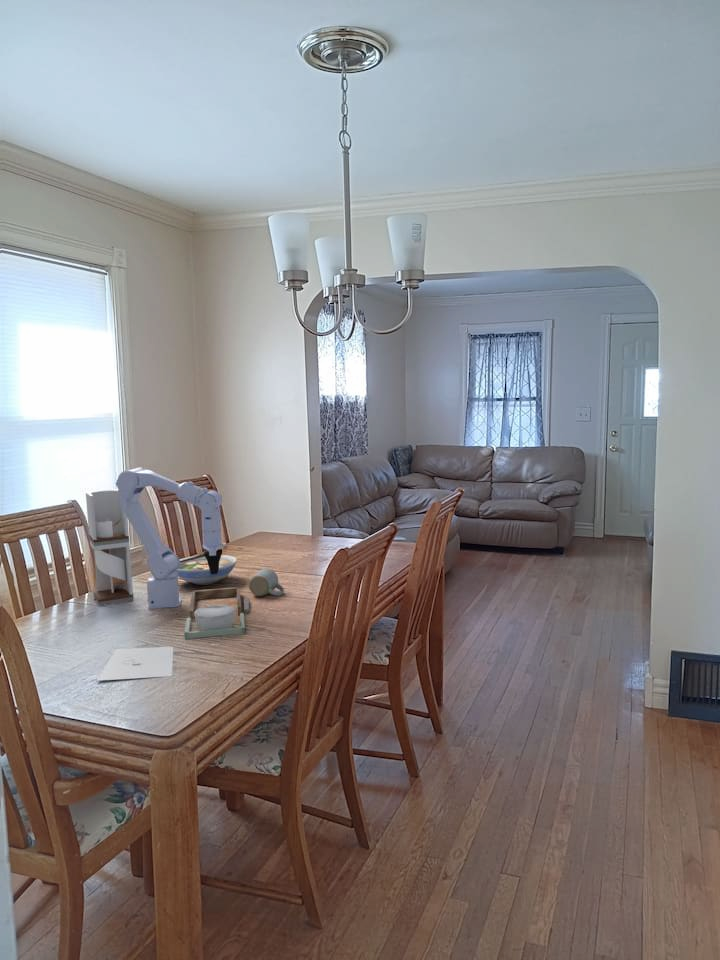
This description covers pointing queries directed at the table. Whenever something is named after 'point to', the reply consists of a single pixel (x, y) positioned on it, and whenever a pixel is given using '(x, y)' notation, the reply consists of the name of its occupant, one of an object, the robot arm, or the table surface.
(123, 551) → the white toy tower
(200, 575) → the ramen bowl
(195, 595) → the brown wooden flat frame
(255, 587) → the ceramic mug
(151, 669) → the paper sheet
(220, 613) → the ramekin
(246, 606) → the grey metal bar
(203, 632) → the sage bay
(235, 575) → the table surface
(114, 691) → the table surface
